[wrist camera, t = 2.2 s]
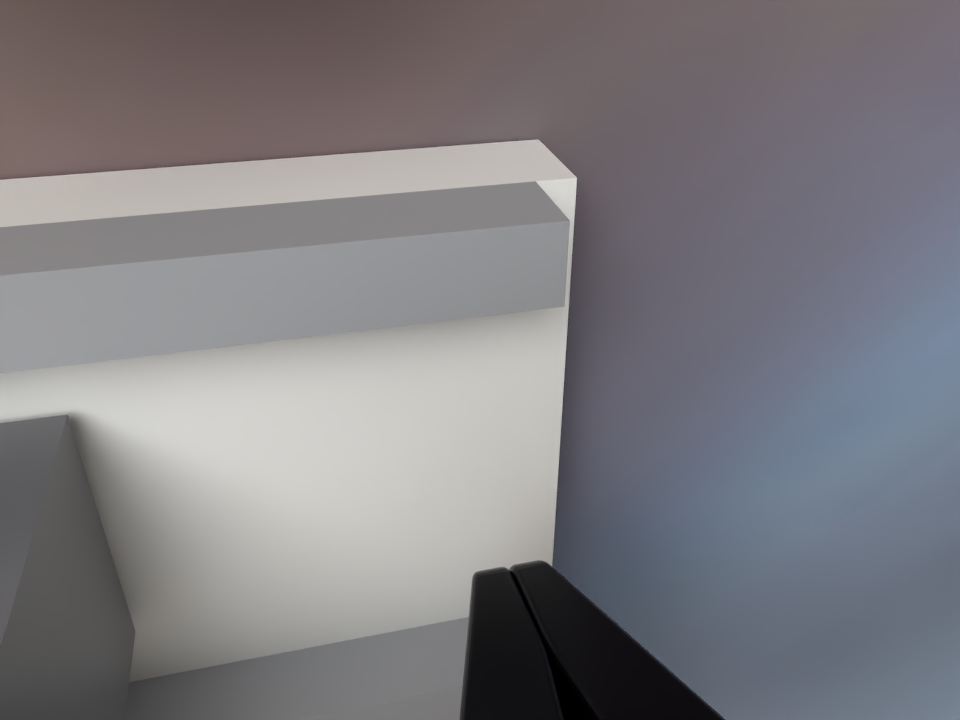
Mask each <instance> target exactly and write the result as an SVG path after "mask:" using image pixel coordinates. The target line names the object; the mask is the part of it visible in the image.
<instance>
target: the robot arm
mask: <svg viewBox="0 0 960 720" xmlns="http://www.w3.org/2000/svg"><path fill="white" fill-rule="evenodd" d="M459 720H725V719H724V718H723V717H722V716H721V715H720V714H718V713H717V712H716V711H715V710H714V709H713V708H712V707H711V706H709V705H708V704H707V703H706V702H705V701H704V700H703V699H701V698H700V697H699V696H698V695H697V694H696V693H695V692H694V691H692V690H691V689H690V688H689V687H688V686H687V685H686V684H684V683H683V682H682V681H681V680H680V679H679V678H678V677H676V676H675V675H674V674H673V673H672V672H671V671H670V670H669V669H667V668H666V667H665V666H664V665H663V664H662V663H661V662H659V661H658V660H657V659H656V658H655V657H654V656H653V655H652V654H650V653H649V652H648V651H647V650H646V649H645V648H644V647H642V646H641V645H640V644H639V643H638V642H637V641H636V640H635V639H633V638H632V637H631V636H630V635H629V634H628V633H627V632H625V631H624V630H623V629H622V628H621V627H620V626H619V625H618V624H616V623H615V622H614V621H613V620H612V619H611V618H610V617H608V616H607V615H606V614H605V613H604V612H603V611H602V610H600V609H599V608H598V607H597V606H596V605H595V604H594V603H593V602H591V601H590V600H589V599H588V598H587V597H586V596H585V595H583V594H582V593H581V592H580V591H579V590H578V589H577V588H576V587H574V586H573V585H572V584H571V583H570V582H569V581H568V580H566V579H565V578H564V577H563V576H562V575H561V574H560V573H559V572H557V571H556V570H555V569H554V568H553V567H552V566H551V565H549V564H548V563H547V562H545V561H542V560H537V561H531V562H526V563H520V564H515V565H513V566H511V567H510V568H509V570H508V569H507V568H506V567H498V568H492V569H487V570H481V571H477V572H475V573H474V575H473V577H472V586H471V597H470V608H469V619H468V630H467V641H466V652H465V663H464V674H463V685H462V696H461V707H460V718H459Z"/></svg>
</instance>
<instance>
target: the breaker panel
mask: <svg viewBox="0 0 960 720" xmlns="http://www.w3.org/2000/svg"><path fill="white" fill-rule="evenodd" d="M576 185H577V177H576V176H575V175H574V174H573V173H572V172H571V171H570V170H569V169H568V168H567V167H566V166H565V165H564V164H563V163H562V162H561V161H560V160H559V159H558V158H557V157H556V156H555V155H554V154H553V153H552V152H551V151H550V150H549V149H548V148H547V147H546V146H545V145H544V144H543V143H542V142H541V141H540V140H539V139H537V140H524V141H511V142H497V143H484V144H471V145H457V146H444V147H431V148H417V149H404V150H391V151H378V152H364V153H351V154H338V155H324V156H311V157H298V158H285V159H271V160H258V161H245V162H231V163H218V164H205V165H192V166H178V167H165V168H152V169H138V170H125V171H112V172H98V173H85V174H72V175H59V176H45V177H32V178H19V179H5V180H0V423H6V422H14V421H21V420H29V419H37V418H45V417H52V416H60V415H68V417H69V420H70V424H71V427H72V430H73V433H74V436H75V440H76V443H77V446H78V449H79V452H80V456H81V459H82V462H83V465H84V468H85V472H86V475H87V478H88V481H89V484H90V488H91V491H92V494H93V497H94V500H95V504H96V507H97V510H98V513H99V516H100V520H101V523H102V526H103V529H104V532H105V535H106V539H107V542H108V545H109V548H110V551H111V555H112V558H113V561H114V564H115V567H116V571H117V574H118V577H119V580H120V583H121V587H122V590H123V593H124V596H125V599H126V603H127V606H128V609H129V612H130V615H131V619H132V622H133V625H134V628H135V631H136V632H135V640H134V648H133V657H132V665H131V673H130V681H129V689H128V697H127V705H126V713H125V720H459V718H460V707H461V696H462V685H463V674H464V663H465V652H466V641H467V630H468V619H469V608H470V597H471V586H472V577H473V575H474V573H475V572H477V571H481V570H487V569H492V568H498V567H506V568H507V569H508V570H509V568H510V567H511V566H513V565H515V564H520V563H526V562H531V561H537V560H542V561H545V562H547V563H548V564H549V565H551V566H552V561H553V546H554V530H555V514H556V499H557V483H558V467H559V452H560V436H561V420H562V405H563V389H564V373H565V358H566V342H567V326H568V310H569V295H570V279H571V263H572V248H573V232H574V216H575V201H576Z"/></svg>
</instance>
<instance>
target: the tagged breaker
mask: <svg viewBox="0 0 960 720" xmlns="http://www.w3.org/2000/svg"><path fill="white" fill-rule="evenodd" d="M135 632H136V631H135V628H134V625H133V622H132V619H131V615H130V612H129V609H128V606H127V603H126V599H125V596H124V593H123V590H122V587H121V583H120V580H119V577H118V574H117V571H116V567H115V564H114V561H113V558H112V555H111V551H110V548H109V545H108V542H107V539H106V535H105V532H104V529H103V526H102V523H101V520H100V516H99V513H98V510H97V507H96V504H95V500H94V497H93V494H92V491H91V488H90V484H89V481H88V478H87V475H86V472H85V468H84V465H83V462H82V459H81V456H80V452H79V449H78V446H77V443H76V440H75V436H74V433H73V430H72V427H71V424H70V420H69V417H68V415H60V416H52V417H45V418H37V419H29V420H21V421H14V422H6V423H0V720H125V713H126V705H127V697H128V689H129V681H130V673H131V665H132V657H133V648H134V640H135Z"/></svg>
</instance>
